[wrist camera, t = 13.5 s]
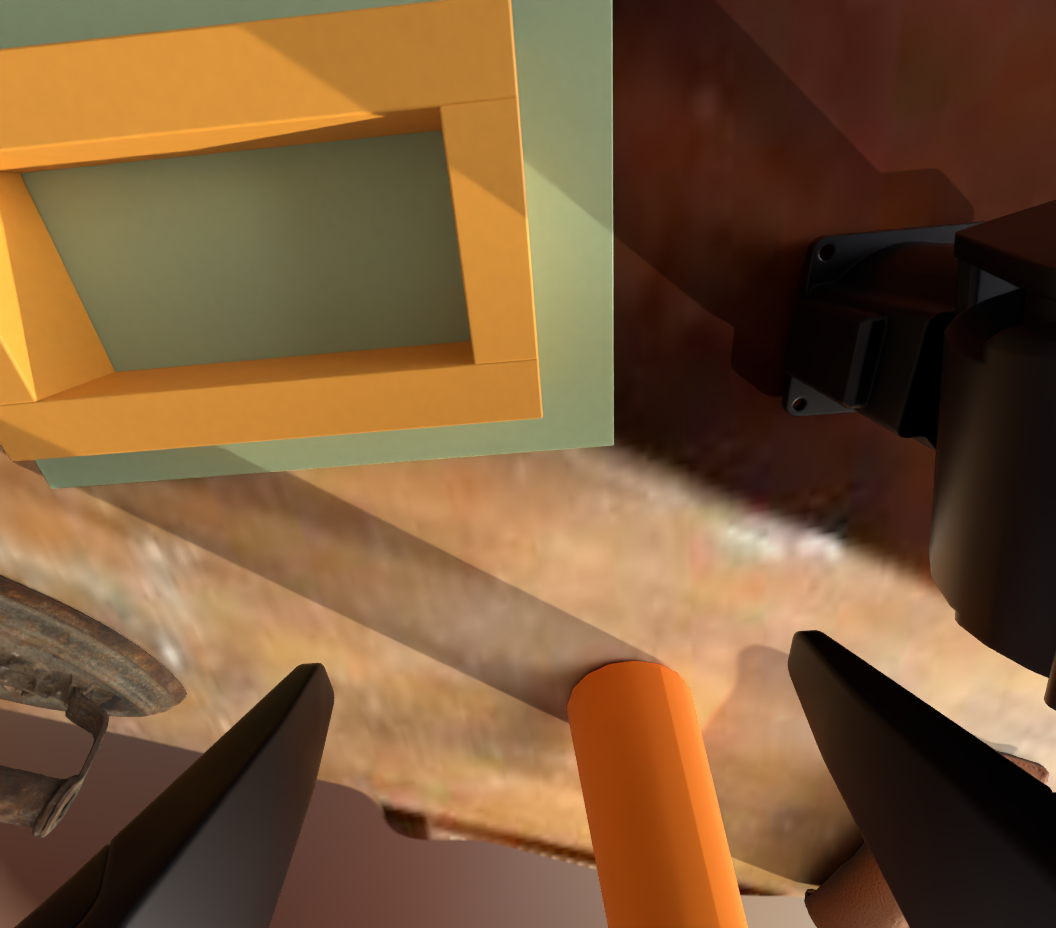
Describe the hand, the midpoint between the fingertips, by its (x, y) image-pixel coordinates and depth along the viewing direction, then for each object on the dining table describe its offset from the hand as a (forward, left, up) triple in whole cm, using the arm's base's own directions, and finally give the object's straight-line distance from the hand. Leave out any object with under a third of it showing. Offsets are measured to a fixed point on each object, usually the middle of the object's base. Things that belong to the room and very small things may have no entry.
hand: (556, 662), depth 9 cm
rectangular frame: (+9, -7, -12) cm, 16 cm away
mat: (+9, -7, -12) cm, 17 cm away
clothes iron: (+25, +11, -12) cm, 30 cm away
